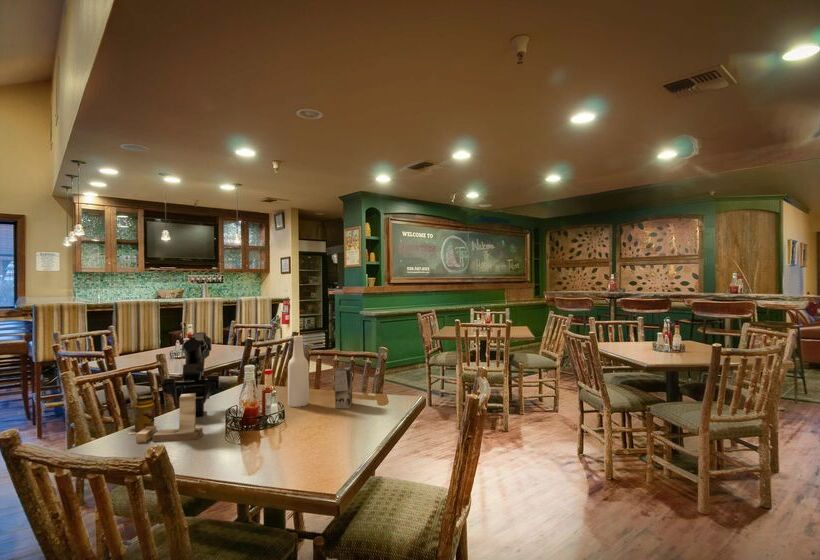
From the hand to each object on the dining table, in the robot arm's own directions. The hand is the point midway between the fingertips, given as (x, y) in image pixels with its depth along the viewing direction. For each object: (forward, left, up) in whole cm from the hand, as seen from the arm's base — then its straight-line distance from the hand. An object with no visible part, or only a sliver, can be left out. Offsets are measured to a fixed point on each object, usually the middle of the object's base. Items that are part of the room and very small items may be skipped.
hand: (189, 404), depth 157 cm
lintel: (+4, -12, -10) cm, 17 cm away
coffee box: (-27, +54, -10) cm, 61 cm away
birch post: (+5, +1, -8) cm, 9 cm away
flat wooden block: (+5, -2, -10) cm, 11 cm away
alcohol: (-32, +34, -10) cm, 48 cm away
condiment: (-5, -18, -10) cm, 21 cm away
